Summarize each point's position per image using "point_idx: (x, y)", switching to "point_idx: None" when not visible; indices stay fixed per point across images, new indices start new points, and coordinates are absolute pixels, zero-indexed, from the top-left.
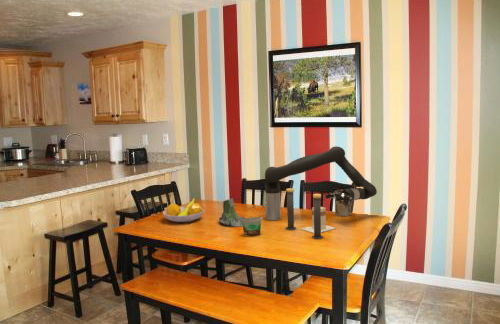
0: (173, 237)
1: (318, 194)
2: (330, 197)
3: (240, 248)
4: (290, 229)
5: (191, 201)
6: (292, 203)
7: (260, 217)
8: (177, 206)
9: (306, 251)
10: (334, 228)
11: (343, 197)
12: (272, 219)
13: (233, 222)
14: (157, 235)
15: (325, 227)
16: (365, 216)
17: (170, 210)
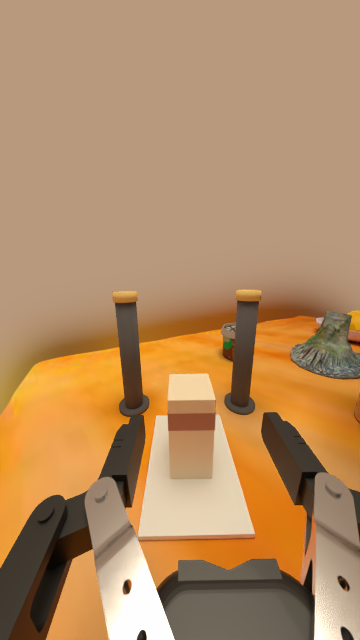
0: (257, 324)
1: (121, 292)
2: (293, 495)
3: (185, 337)
4: (226, 395)
5: None
6: (235, 334)
7: (228, 330)
8: (354, 315)
9: (110, 362)
10: (140, 521)
11: (87, 509)
12: (355, 410)
13: (297, 348)
14: (270, 321)
15: (170, 474)
16: None
17: None
